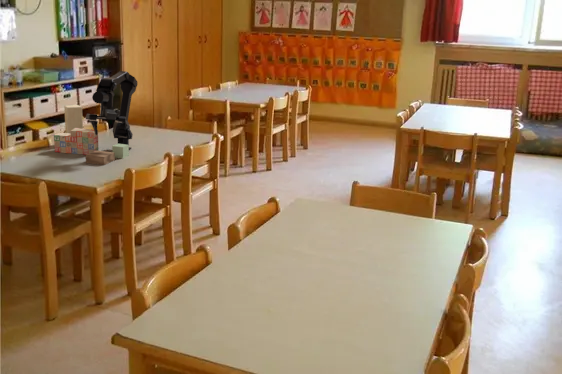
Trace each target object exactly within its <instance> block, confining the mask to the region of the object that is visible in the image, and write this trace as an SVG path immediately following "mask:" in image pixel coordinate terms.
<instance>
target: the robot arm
mask: <svg viewBox="0 0 562 374" xmlns="http://www.w3.org/2000/svg"><path fill="white" fill-rule="evenodd" d="M117 85H120V89H121V92H122V95H121V101H120V106H119V107H120V108H119V109H115V107H114V96H115V92H114V91H115V90H116V89H117V88H118V86H117ZM137 87H138V80H137V79H136V78H135V76H133V75H132V74H130V73H129V72H128V71H127V70H125V71H124V70H120V71H118V72H117V73H115V74H114V75H112V76H109V77H103V78H101V79H100V80H99V83H98V84H97V87H96V90H95V92H94V93H93V94H92V95H91V96H92V100H93V102H94V103H95V104H100V106H99V108H100V113H99V115H98V114H97V113H86V115H85V120H88V122H90V124H91V126H92V130H94V132H95V134H96V135H97V130H98V122H99V121H98V120H105V121H113V127H112V128H113V129H112V134H113V139H117V144H126V145H129V150H132V147H130V140H132V139H133V132H132V130H131V125H130V124H129V114H130V108H131V104H132V103H131V102H132V95H134V93H135V92H136V90H137ZM114 109H115V110H114Z"/></svg>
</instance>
